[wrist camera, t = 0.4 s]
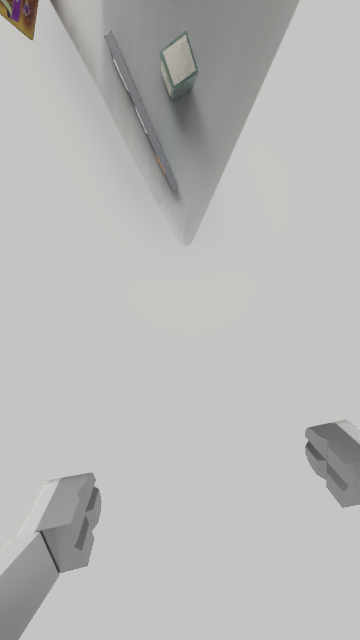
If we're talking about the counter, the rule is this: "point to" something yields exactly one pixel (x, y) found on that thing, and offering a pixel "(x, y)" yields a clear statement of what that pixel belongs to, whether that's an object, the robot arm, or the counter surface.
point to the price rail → (139, 107)
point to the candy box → (20, 14)
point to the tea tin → (178, 66)
